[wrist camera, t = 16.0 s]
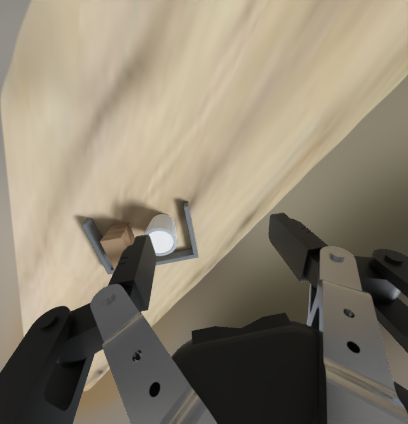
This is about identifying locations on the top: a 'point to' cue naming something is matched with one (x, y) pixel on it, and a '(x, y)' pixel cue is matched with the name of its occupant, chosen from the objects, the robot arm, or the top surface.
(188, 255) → the grey u-shaped bracket
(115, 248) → the block
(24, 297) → the top surface
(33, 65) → the top surface
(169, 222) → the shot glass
